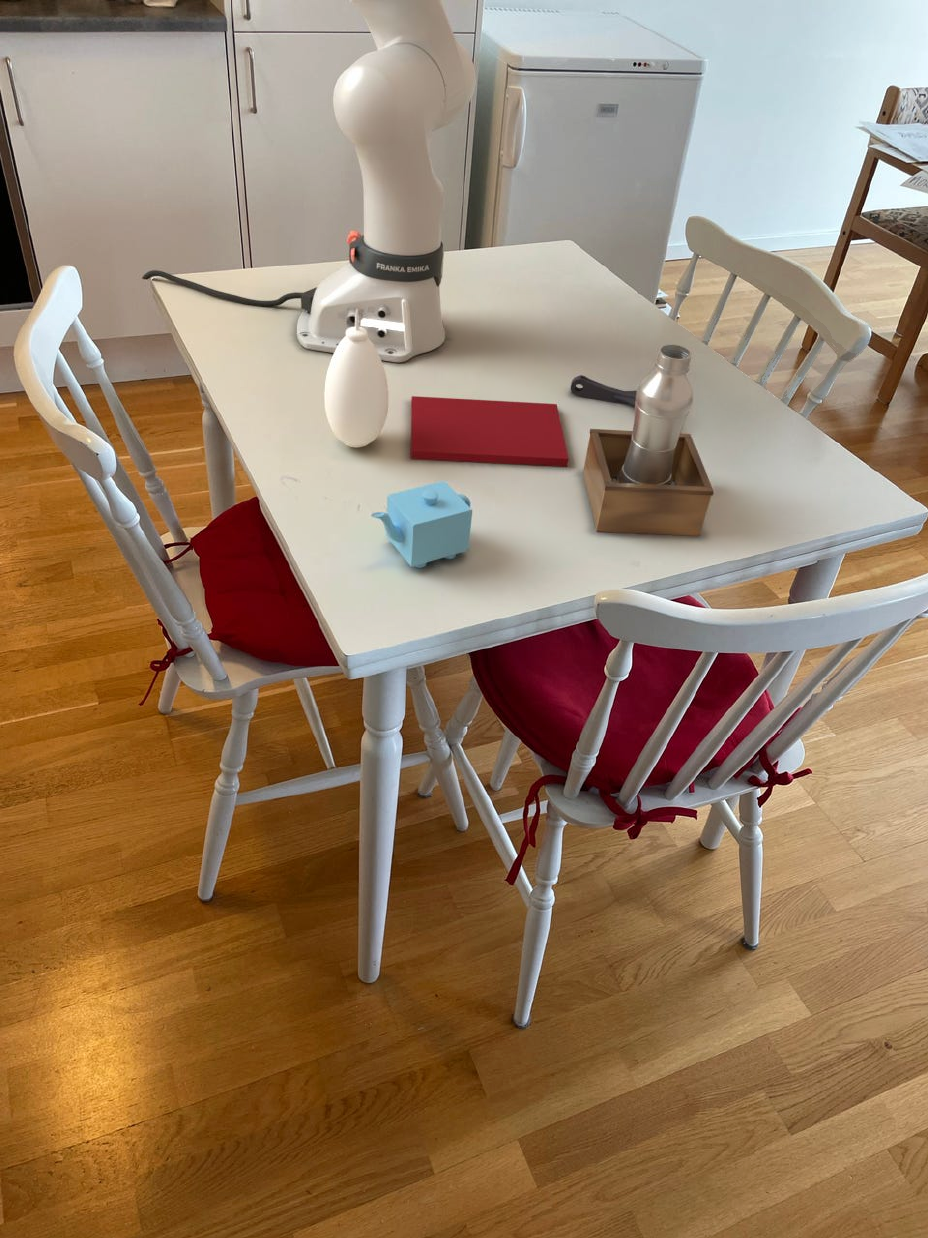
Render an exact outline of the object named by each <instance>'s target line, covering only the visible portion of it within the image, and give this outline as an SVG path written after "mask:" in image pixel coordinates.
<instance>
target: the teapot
mask: <svg viewBox="0 0 928 1238" xmlns="http://www.w3.org/2000/svg"><path fill="white" fill-rule="evenodd" d="M386 500H387V501H386V512H383V511H377V512H373V513H371V515H370V516H371V517H372V518H376V519H379V520H380V521H381V522H382V524H383V527H384V531H385V536H386V538H387V539H388V540H389V542H391V544H392V545H393V546H394V548H395V550H396V551H398V553H399V554H400V555H401V556H402V558H403V559H404V560H405V561H406V562H407V564H408V565H409V567H411V568H412V567H416V568H419V569H421V568H424V567H426V566H427V563H430V562H433V561H438V560H441V559H443V558H444V559H446V560H452V559H455V558H456V556H457V555H458V554H462V553H464V552H468V551H469V547H470V536H471V527H472V518H473V509H472V508H471V500H470V498H468V496H467V495H464V494H462V493H457V492H456V491H455V490H454V489H453V488H452V487H451V486H450V485H449V483H448V482H447V481H446V480H442V481H438V482H433V483H428V484H426V485H421V486H417V487H414V488H409V489H406V490H402V491H398V492H394V493H390V494H388V495H387V499H386Z"/></svg>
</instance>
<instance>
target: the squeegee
mask: <svg viewBox="0 0 928 1238" xmlns="http://www.w3.org/2000/svg"><path fill="white" fill-rule="evenodd" d="M578 385H581V387H578ZM570 391H571V393H572V395H574V396H576V397H580V398H587V399H592V400H597V401H605V402H611V403H617V404H621V405H628V406H634V407H635V402H636V393H637V390H623V389H619V388H615V387H613V386H608V385H606V384H603V383H602V382H601V383H600V382H598V381H596V380H593V379H590V378H589V377H587V376H585V375H582V374H580V375H577V376H576V377H574V378H573V379H572V381H571V383H570Z"/></svg>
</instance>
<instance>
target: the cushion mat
mask: <svg viewBox="0 0 928 1238" xmlns="http://www.w3.org/2000/svg"><path fill="white" fill-rule="evenodd" d="M410 405H411V407H410V460H422V461H423V460H425V461H445V462H463V463H465V462H466V463H483V464H484V463H485V464H487V463H488V464H504V465H526V466H527V465H528V466H529V465H530V466H547V467H568V465H569V453H568V449H567V445H566V441H565V440H566V439H565V435H564V431H563V427H562V423H561V417H560V413H559V408H558V404H557V403H546V402H544V403H543V402H529V401H528V402H527V401H510V400H509V401H506V400H490V399H489V400H488V399H473V398H472V399H470V398H456V397H455V398H454V397H436V396H434V397H433V396H418V395H417V396H415V395H411V400H410Z"/></svg>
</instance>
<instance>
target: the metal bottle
mask: <svg viewBox="0 0 928 1238" xmlns="http://www.w3.org/2000/svg"><path fill="white" fill-rule="evenodd" d="M692 355H693V354H692V352H691V350H690V349H689V348H687V347H685V346H683V345H680V344H673V343H672V344H663V345H661V346H660V348H659V349H658V353H657V356H656V358H655V362H654V367H655V369H653V370H652V371H651V372H650V373H649V374H647V375H646V377H644V378H643V379H642V381H641V382H640V384H639V386H638V387H637V389H636V391H637V393H636V402H635V406H634V419H633V426H632V431H633V432H632V433H633V434H632V438H631V443H630V447H629V450H628V453H627V456H626V459H625V462H624V465H623V466H622V468H621V470H620V473H619V476H618V478H616V483H634V484H655V485H672V480H671V469H672V463H673V457H674V451H675V448H676V445H677V441H678V439H679V436H680V433H682V429H683V427H684V425H685V422H686V420H687V417H688V415H689V413H690V410H691V409H692V405H693V402H694V392H693V389H692V385H691V383H690V380H689V378H688V376H687V373H689V371H690V368H691V361H692Z"/></svg>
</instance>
